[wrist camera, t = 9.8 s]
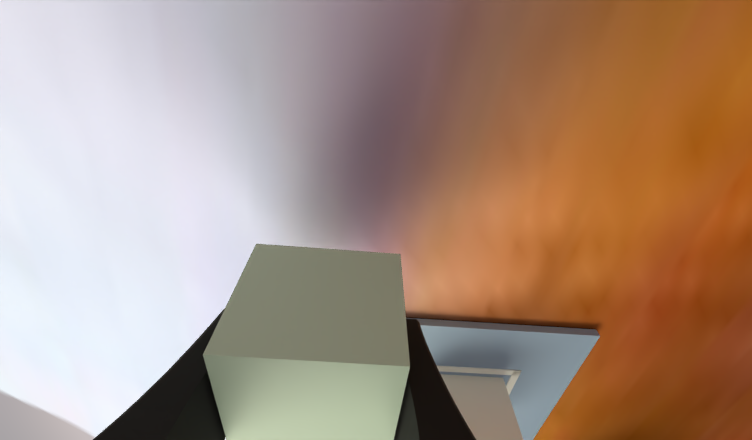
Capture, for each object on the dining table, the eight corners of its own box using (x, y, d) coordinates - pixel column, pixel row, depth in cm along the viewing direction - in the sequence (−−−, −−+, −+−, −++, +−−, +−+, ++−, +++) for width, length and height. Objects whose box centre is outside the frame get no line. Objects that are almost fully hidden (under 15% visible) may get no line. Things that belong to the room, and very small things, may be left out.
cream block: (481, 421, 22) (501, 501, 18) (408, 417, 21) (414, 497, 18) (503, 377, 19) (529, 460, 16) (420, 372, 19) (429, 455, 16)
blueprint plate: (521, 447, 24) (523, 455, 24) (344, 439, 24) (344, 447, 23) (596, 329, 18) (600, 337, 17) (354, 314, 17) (353, 322, 17)
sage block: (385, 346, 14) (388, 462, 10) (267, 339, 13) (230, 455, 10) (400, 254, 11) (409, 366, 8) (256, 243, 11) (202, 355, 8)
